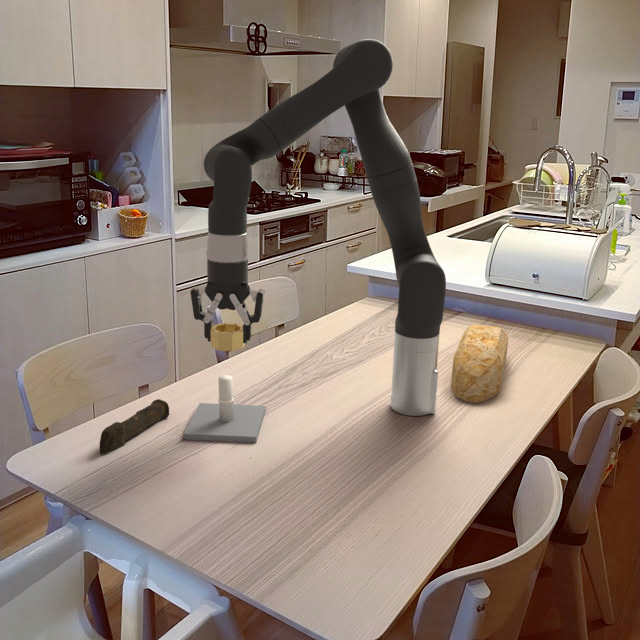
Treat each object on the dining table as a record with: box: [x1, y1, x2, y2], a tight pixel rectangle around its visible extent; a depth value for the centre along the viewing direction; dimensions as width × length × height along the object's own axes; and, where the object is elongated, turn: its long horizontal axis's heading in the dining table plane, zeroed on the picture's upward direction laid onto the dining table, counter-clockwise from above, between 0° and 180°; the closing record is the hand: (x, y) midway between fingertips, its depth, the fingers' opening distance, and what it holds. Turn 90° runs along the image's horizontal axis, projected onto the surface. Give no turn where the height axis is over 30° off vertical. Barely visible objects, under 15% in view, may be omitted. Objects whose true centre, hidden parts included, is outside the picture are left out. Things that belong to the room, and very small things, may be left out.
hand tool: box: [99, 398, 170, 456], centre depth 138 cm, size 19×4×5 cm, turn 154°
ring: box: [210, 322, 246, 352], centre depth 136 cm, size 6×6×4 cm
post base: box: [183, 374, 267, 443], centre depth 141 cm, size 14×14×10 cm
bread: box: [450, 324, 509, 404], centre depth 170 cm, size 36×11×10 cm, turn 162°
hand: (227, 340), depth 136 cm, fingers closed on ring, 6 cm apart
